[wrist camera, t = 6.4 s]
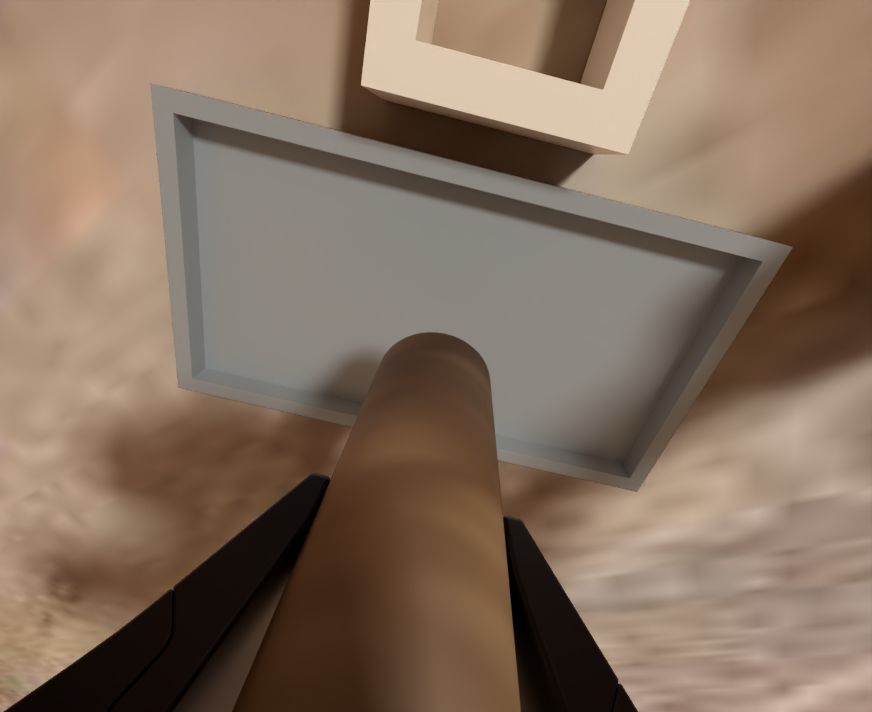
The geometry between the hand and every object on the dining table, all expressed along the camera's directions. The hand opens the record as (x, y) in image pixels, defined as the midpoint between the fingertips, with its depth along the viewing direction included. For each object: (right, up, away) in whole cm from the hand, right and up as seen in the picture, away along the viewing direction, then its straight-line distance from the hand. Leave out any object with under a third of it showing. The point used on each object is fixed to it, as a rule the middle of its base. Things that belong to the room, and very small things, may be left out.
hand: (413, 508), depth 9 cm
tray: (+1, +6, +11) cm, 13 cm away
